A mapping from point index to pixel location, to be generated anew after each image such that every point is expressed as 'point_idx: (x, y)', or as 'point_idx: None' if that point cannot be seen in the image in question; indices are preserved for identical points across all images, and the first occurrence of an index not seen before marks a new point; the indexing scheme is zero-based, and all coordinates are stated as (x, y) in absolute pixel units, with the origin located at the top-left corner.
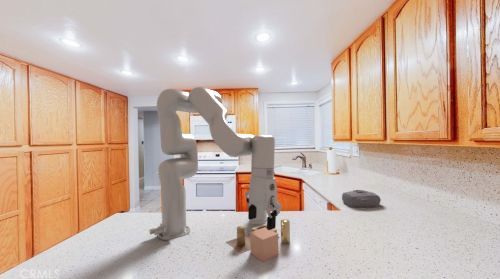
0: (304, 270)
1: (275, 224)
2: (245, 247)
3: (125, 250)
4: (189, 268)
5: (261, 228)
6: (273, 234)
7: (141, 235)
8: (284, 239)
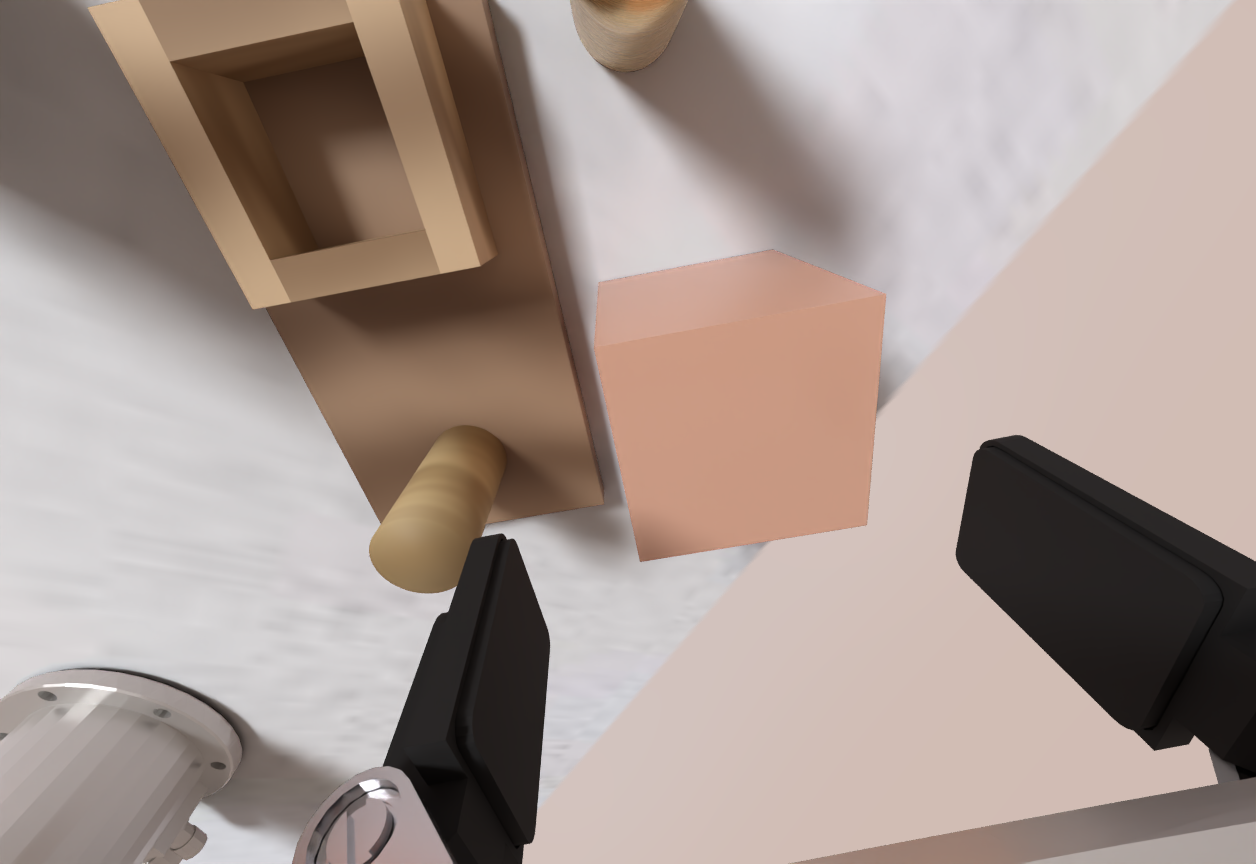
0: (1040, 157)
1: (1060, 458)
2: (537, 448)
3: None
4: (578, 704)
5: (609, 411)
6: (858, 366)
7: None
8: (669, 28)
